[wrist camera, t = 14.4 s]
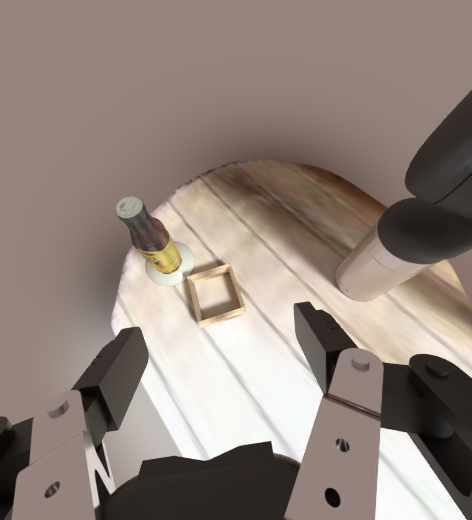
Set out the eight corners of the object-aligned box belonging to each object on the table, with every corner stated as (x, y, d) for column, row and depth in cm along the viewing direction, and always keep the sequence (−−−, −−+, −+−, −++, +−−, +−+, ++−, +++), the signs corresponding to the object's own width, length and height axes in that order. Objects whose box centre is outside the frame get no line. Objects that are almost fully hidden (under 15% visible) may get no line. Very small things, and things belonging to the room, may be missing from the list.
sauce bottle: (150, 264, 50) (95, 205, 32) (171, 246, 52) (131, 181, 34) (168, 282, 48) (120, 230, 30) (189, 263, 49) (156, 203, 32)
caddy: (231, 268, 49) (230, 263, 46) (246, 313, 44) (246, 309, 41) (190, 281, 48) (186, 276, 45) (201, 328, 43) (198, 325, 41)
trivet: (189, 237, 53) (188, 236, 53) (199, 277, 48) (199, 276, 48) (144, 251, 52) (143, 249, 52) (150, 293, 47) (149, 292, 47)
